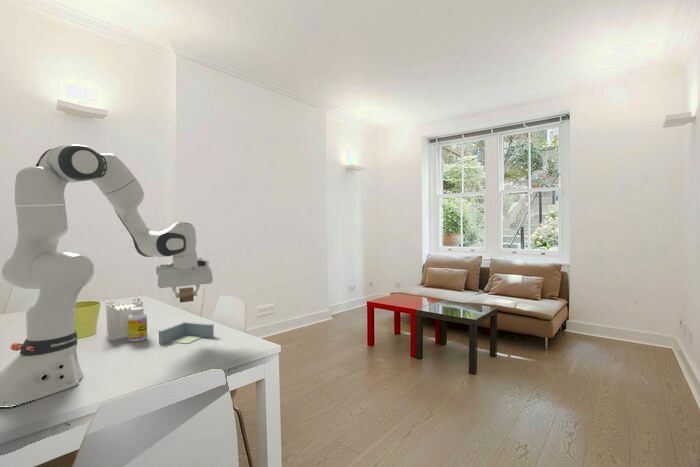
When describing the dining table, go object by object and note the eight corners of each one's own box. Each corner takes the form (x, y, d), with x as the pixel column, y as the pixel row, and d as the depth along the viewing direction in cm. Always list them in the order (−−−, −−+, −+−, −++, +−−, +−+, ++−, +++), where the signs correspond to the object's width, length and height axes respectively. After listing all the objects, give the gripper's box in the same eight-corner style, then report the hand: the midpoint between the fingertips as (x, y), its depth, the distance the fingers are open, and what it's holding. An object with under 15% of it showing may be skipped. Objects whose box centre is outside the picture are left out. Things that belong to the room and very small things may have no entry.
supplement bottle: (138, 342, 142) (137, 310, 142) (124, 341, 144) (123, 310, 143) (151, 337, 149) (150, 306, 149) (137, 336, 150) (136, 306, 150)
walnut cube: (193, 301, 143) (193, 288, 143) (179, 302, 141) (179, 290, 141) (193, 298, 148) (192, 286, 147) (179, 300, 145) (179, 287, 145)
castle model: (107, 341, 145) (106, 305, 145) (106, 332, 157) (105, 299, 157) (144, 334, 153) (143, 301, 152) (140, 326, 165) (139, 295, 164)
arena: (189, 347, 136) (189, 334, 136) (158, 343, 141) (158, 330, 141) (213, 336, 149) (213, 324, 149) (184, 333, 154) (184, 321, 154)
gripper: (155, 265, 136) (156, 301, 137) (212, 261, 145) (213, 295, 146) (156, 263, 142) (157, 298, 142) (211, 260, 151) (212, 292, 152)
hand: (186, 296), depth 144 cm, fingers closed on walnut cube, 5 cm apart
